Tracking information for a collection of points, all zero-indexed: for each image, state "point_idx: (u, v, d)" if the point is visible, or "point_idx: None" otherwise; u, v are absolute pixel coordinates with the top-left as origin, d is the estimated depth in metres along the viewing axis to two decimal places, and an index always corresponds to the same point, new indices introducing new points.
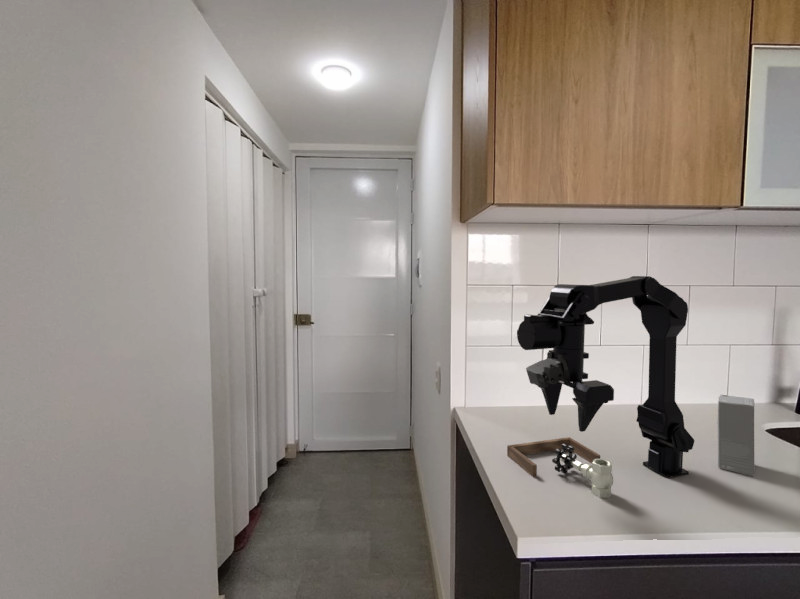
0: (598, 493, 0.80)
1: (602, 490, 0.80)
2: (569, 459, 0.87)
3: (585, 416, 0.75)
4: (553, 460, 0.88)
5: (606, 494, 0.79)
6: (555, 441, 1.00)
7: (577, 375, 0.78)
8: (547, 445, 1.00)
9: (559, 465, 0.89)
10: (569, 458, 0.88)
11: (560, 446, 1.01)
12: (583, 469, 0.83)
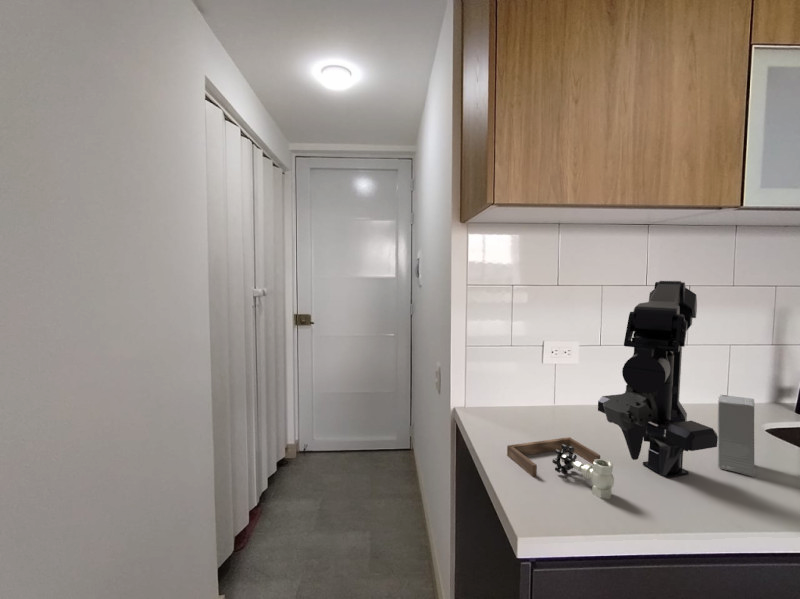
0: (599, 494, 0.80)
1: (603, 491, 0.79)
2: (569, 460, 0.87)
3: (668, 458, 0.66)
4: (553, 461, 0.88)
5: (607, 495, 0.79)
6: (555, 441, 1.00)
7: (666, 413, 0.66)
8: (547, 445, 1.00)
9: (559, 466, 0.88)
10: (569, 459, 0.87)
11: (560, 446, 1.01)
12: (584, 470, 0.83)
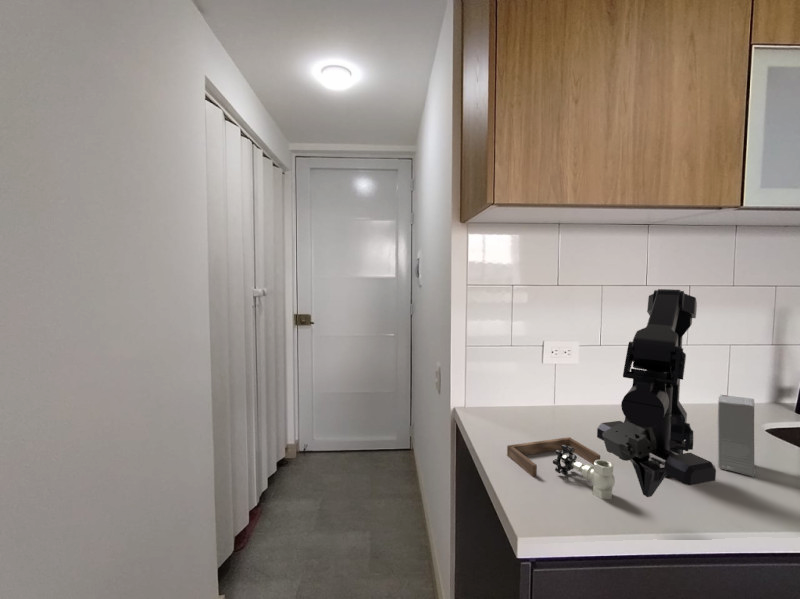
0: (600, 494, 0.79)
1: (604, 491, 0.79)
2: (570, 460, 0.87)
3: (653, 481, 0.68)
4: (554, 461, 0.88)
5: (607, 495, 0.79)
6: (555, 441, 1.00)
7: (665, 444, 0.67)
8: (547, 445, 1.00)
9: (559, 466, 0.88)
10: (569, 459, 0.87)
11: (560, 446, 1.01)
12: (584, 470, 0.83)
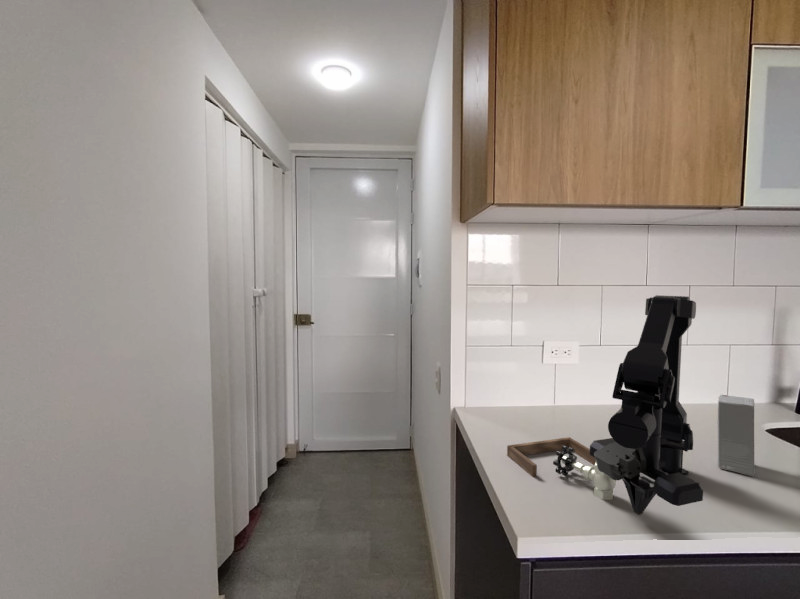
0: (601, 495, 0.79)
1: (605, 492, 0.79)
2: (570, 461, 0.87)
3: (643, 499, 0.70)
4: (554, 462, 0.87)
5: (609, 496, 0.79)
6: (555, 441, 1.00)
7: (654, 464, 0.69)
8: (547, 445, 1.00)
9: (560, 467, 0.88)
10: (570, 460, 0.87)
11: (560, 446, 1.01)
12: (585, 471, 0.83)
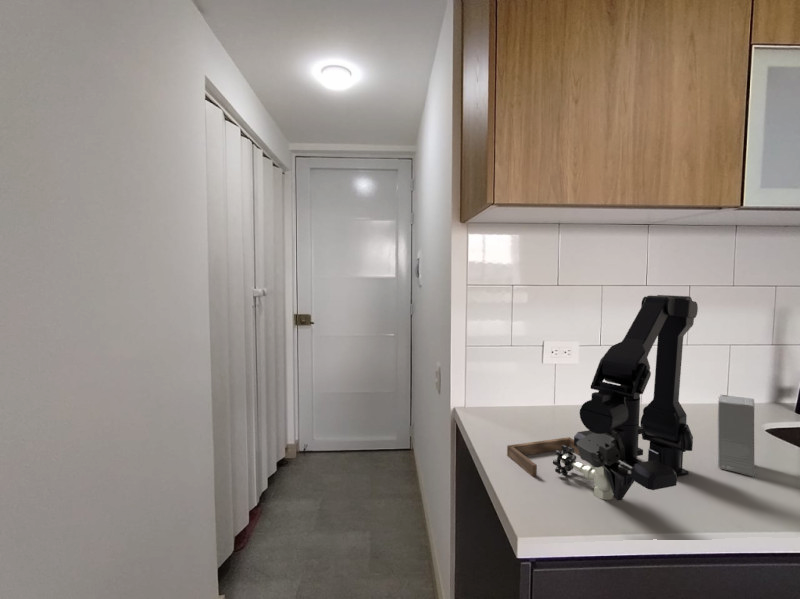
0: (601, 495, 0.79)
1: (605, 491, 0.79)
2: (570, 460, 0.87)
3: (622, 486, 0.75)
4: (554, 462, 0.87)
5: (609, 495, 0.79)
6: (555, 441, 1.00)
7: (632, 452, 0.73)
8: (547, 445, 1.00)
9: (559, 467, 0.88)
10: (570, 459, 0.87)
11: (560, 446, 1.01)
12: (585, 470, 0.82)
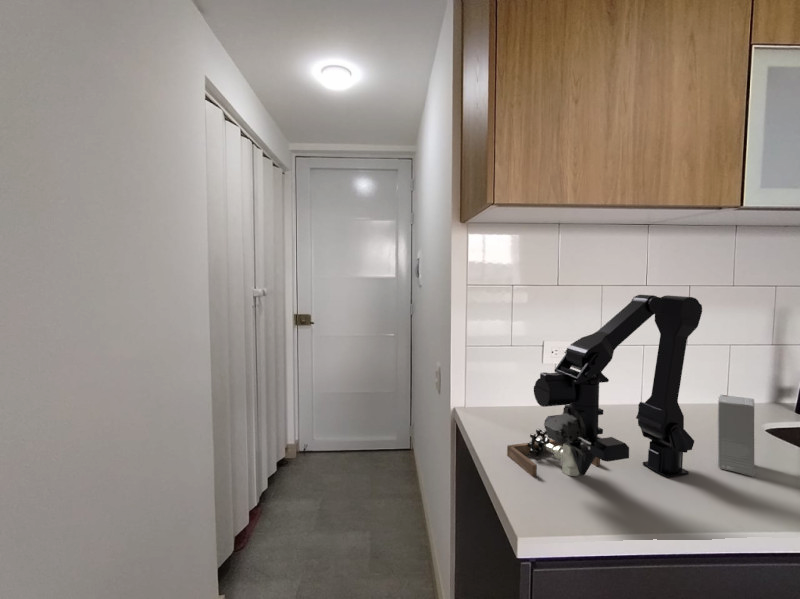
0: (568, 471, 0.88)
1: (572, 468, 0.88)
2: (542, 442, 0.96)
3: (585, 461, 0.84)
4: (528, 444, 0.96)
5: (575, 472, 0.88)
6: (555, 441, 1.00)
7: (593, 431, 0.82)
8: None
9: (534, 448, 0.97)
10: (542, 441, 0.96)
11: None
12: (555, 450, 0.91)
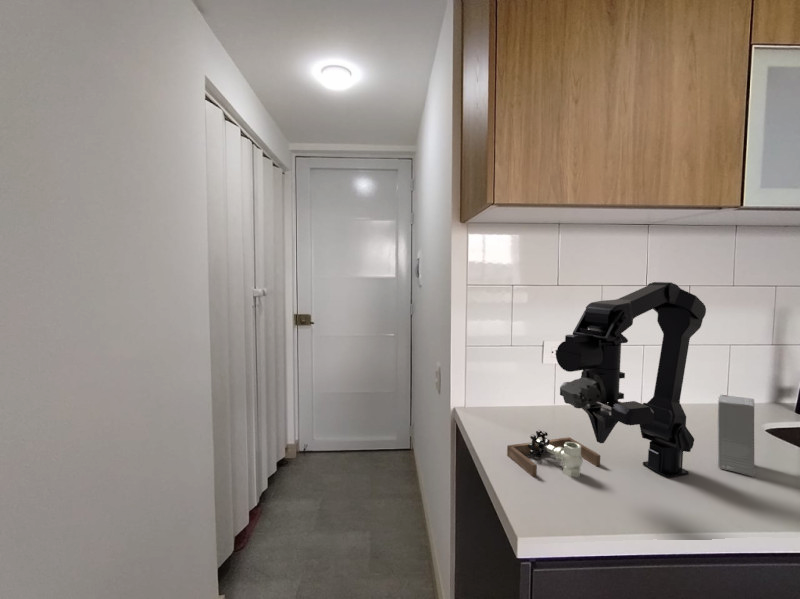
0: (569, 473, 0.88)
1: (573, 470, 0.88)
2: (543, 444, 0.95)
3: (604, 428, 0.79)
4: (528, 445, 0.96)
5: (576, 473, 0.88)
6: (555, 441, 1.00)
7: (613, 395, 0.77)
8: None
9: (534, 449, 0.96)
10: (543, 443, 0.95)
11: (560, 446, 1.01)
12: (555, 452, 0.91)
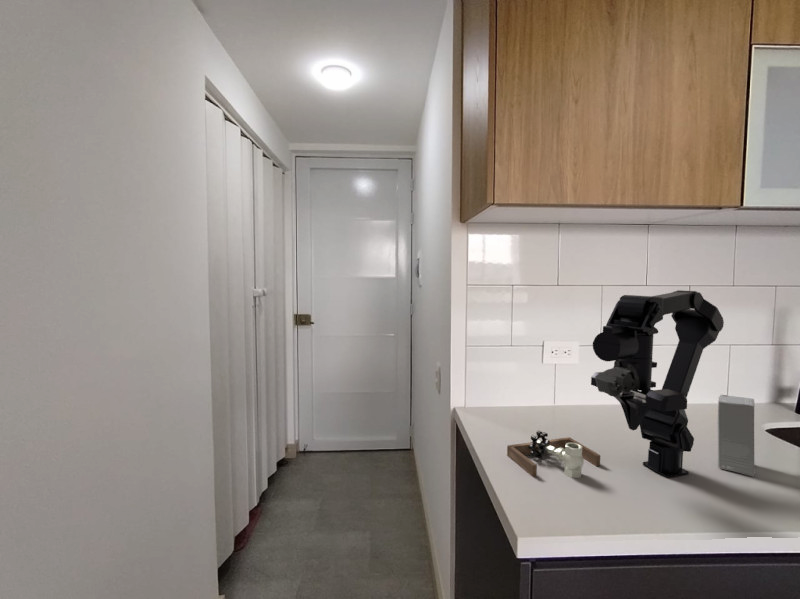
0: (570, 474, 0.87)
1: (574, 471, 0.87)
2: (543, 444, 0.95)
3: (637, 416, 0.82)
4: (529, 446, 0.95)
5: (577, 474, 0.87)
6: (555, 441, 1.00)
7: (646, 384, 0.80)
8: None
9: (534, 450, 0.96)
10: (543, 444, 0.95)
11: (560, 446, 1.01)
12: (556, 453, 0.91)
